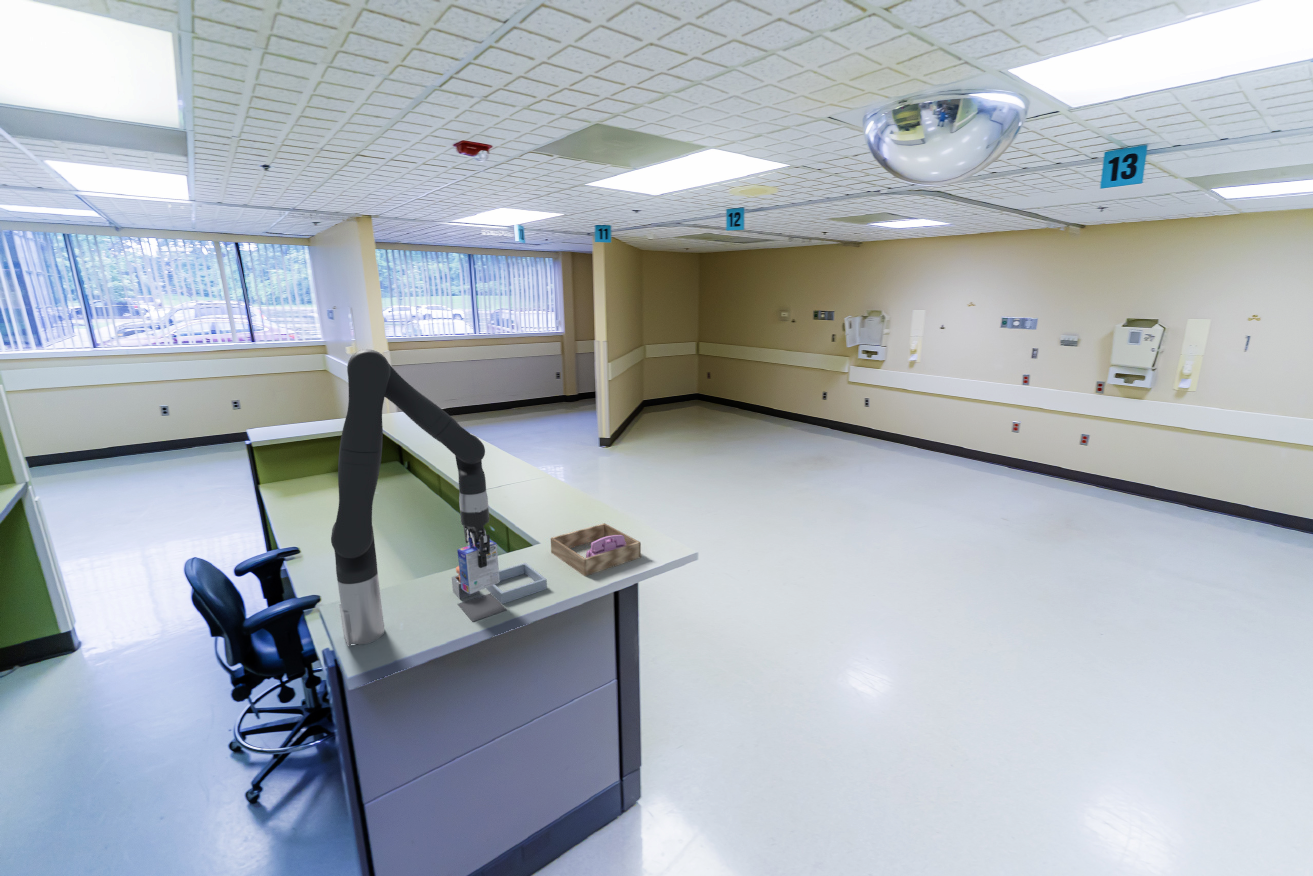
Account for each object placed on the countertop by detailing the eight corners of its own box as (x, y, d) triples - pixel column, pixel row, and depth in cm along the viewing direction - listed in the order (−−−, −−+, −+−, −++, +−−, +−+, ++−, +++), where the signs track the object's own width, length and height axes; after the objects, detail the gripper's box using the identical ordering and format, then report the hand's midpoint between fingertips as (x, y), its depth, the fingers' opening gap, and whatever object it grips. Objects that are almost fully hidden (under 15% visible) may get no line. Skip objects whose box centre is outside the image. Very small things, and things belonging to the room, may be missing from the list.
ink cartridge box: (490, 576, 164) (487, 530, 161) (500, 582, 161) (497, 535, 157) (459, 588, 157) (455, 540, 154) (469, 595, 153) (465, 546, 150)
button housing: (459, 600, 165) (458, 584, 164) (452, 592, 169) (451, 577, 168) (479, 593, 168) (478, 578, 167) (472, 586, 173) (471, 571, 172)
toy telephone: (621, 555, 195) (621, 529, 193) (631, 562, 190) (630, 535, 188) (575, 568, 185) (574, 540, 183) (584, 576, 180) (584, 547, 178)
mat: (472, 622, 153) (472, 621, 153) (457, 605, 162) (457, 603, 162) (507, 610, 159) (507, 609, 159) (490, 594, 168) (490, 593, 168)
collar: (501, 604, 162) (501, 593, 161) (482, 585, 173) (482, 575, 172) (547, 589, 171) (546, 579, 170) (526, 572, 182) (525, 562, 181)
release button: (461, 597, 166) (459, 572, 164) (455, 591, 169) (453, 566, 167) (476, 592, 168) (474, 568, 167) (470, 586, 172) (468, 562, 170)
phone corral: (584, 577, 179) (584, 559, 178) (551, 553, 196) (550, 537, 195) (640, 558, 193) (640, 542, 191) (604, 538, 210) (604, 523, 209)
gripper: (451, 502, 157) (456, 558, 160) (470, 516, 146) (475, 576, 149) (477, 497, 161) (481, 551, 165) (497, 510, 150) (501, 568, 154)
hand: (478, 562), depth 157 cm, fingers closed on ink cartridge box, 5 cm apart
